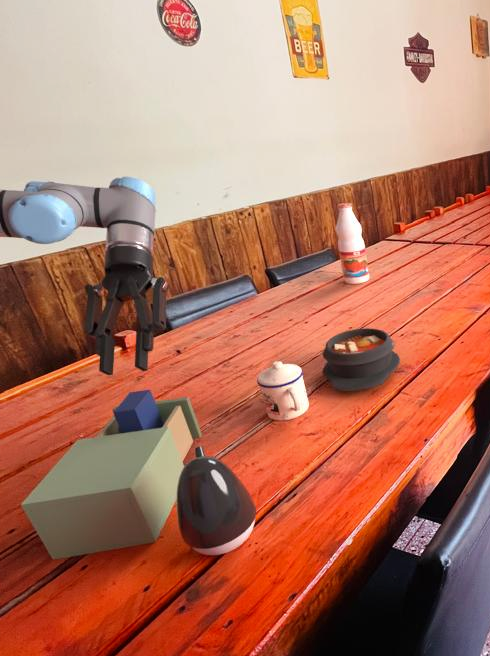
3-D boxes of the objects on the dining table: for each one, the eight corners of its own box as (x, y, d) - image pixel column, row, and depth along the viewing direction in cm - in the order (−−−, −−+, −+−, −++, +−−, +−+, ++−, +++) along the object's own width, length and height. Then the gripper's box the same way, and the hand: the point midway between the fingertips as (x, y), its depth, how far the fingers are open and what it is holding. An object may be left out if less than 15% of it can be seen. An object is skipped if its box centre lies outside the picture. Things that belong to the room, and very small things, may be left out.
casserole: (401, 392, 115) (396, 359, 111) (317, 402, 113) (309, 369, 109) (400, 345, 137) (397, 317, 134) (330, 353, 135) (324, 324, 132)
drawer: (140, 432, 104) (124, 395, 100) (208, 422, 106) (195, 385, 102) (96, 495, 87) (75, 453, 83) (178, 482, 89) (161, 440, 85)
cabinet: (101, 489, 90) (77, 439, 85) (188, 476, 92) (168, 426, 87) (52, 559, 76) (20, 504, 71) (155, 542, 78) (130, 487, 73)
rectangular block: (136, 465, 92) (112, 412, 87) (151, 442, 99) (130, 391, 94) (157, 462, 93) (134, 409, 88) (170, 440, 99) (150, 389, 94)
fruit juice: (366, 274, 197) (354, 200, 184) (372, 281, 189) (361, 204, 177) (341, 279, 193) (328, 203, 181) (347, 286, 185) (333, 207, 173)
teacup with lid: (260, 410, 111) (246, 363, 106) (300, 394, 116) (289, 349, 111) (281, 433, 103) (268, 383, 98) (323, 415, 108) (312, 366, 103)
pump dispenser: (257, 506, 84) (233, 430, 78) (266, 548, 76) (240, 467, 69) (189, 530, 80) (157, 452, 73) (190, 578, 72) (154, 495, 65)
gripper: (189, 259, 101) (188, 370, 94) (90, 268, 99) (81, 383, 91) (171, 238, 94) (168, 357, 87) (64, 248, 92) (52, 371, 84)
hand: (123, 370), depth 89 cm, fingers open, 5 cm apart
